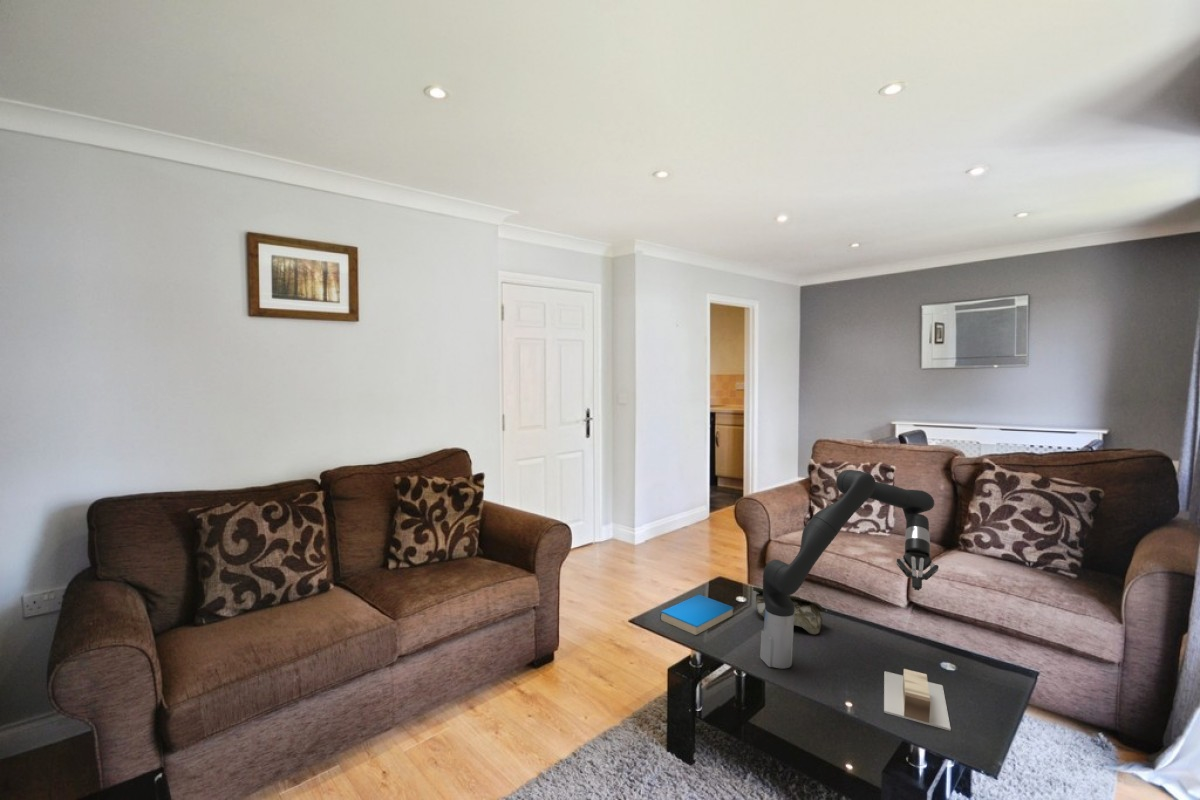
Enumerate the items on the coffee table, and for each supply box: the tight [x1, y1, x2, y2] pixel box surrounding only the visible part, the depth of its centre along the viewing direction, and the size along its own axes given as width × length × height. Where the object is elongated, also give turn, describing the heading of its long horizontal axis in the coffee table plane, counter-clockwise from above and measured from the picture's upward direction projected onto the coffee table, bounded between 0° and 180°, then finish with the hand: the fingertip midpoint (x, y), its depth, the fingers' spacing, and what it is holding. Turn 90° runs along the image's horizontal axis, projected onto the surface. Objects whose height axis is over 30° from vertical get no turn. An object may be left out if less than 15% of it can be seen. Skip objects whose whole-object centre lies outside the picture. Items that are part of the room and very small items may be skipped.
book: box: [659, 594, 735, 636], centre depth 214 cm, size 17×4×25 cm
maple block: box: [902, 668, 930, 723], centre depth 159 cm, size 6×6×16 cm
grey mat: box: [883, 671, 952, 732], centre depth 163 cm, size 24×16×1 cm, turn 153°
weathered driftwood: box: [752, 586, 828, 635], centre depth 211 cm, size 28×13×15 cm
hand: (917, 589), depth 182 cm, fingers closed
